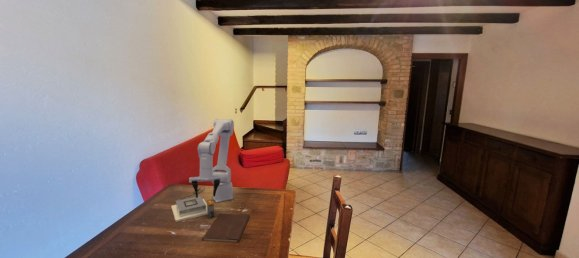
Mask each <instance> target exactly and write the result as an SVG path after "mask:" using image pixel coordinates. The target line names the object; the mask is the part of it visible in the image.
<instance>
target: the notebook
mask: <svg viewBox="0 0 579 258" xmlns="http://www.w3.org/2000/svg"><path fill="white" fill-rule="evenodd" d="M250 217H251V216H250V214H247V213H241V214H239V213H238V214H237V213H218V215H217V216H216V218H215V219H214V220H213V222H212V224H210V226H209V228H208V229H207V231H206V232H205V234H204V235H203V237H202V238H201V241H208V242H210V241H211V242H212V241H213V242H227V243H239V242H240V239H241V237H242V235H243V233H244V231H245V228H246V226H247V224H248V222H249V219H250Z"/></svg>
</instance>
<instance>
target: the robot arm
mask: <svg viewBox="0 0 579 258" xmlns="http://www.w3.org/2000/svg"><path fill="white" fill-rule="evenodd" d="M234 128H235V122H234V120H233V119H232V118H230V119H225V118H215V120H213V129H212V131H211V132H209V133H208V134H207V136H205V139H204V140H203V141H201V142H200V143H198V146H197V153H198V159H199V175H198V176H191V177H189V178H188V180H189V181H188V182H189V183H191V185H192V187H193V191H194V192H195V193H196V198H198V196H199V194H198V189H199V182H200V183H201V182H202V183H203V182H211V183H212V185H213V191H212V200H214V202H215V203H221V202H225V201H229V200H234V197H233V196H234V194H233V193H234V192H233V191H234V189H233V183H232V181H231V180H232V179H231V178H232V171H231V168H230V167H229V166H227V162H228V154H229V146H230V139H231V138H230V137H231V136H233V135H234V134H233V133H234ZM218 142H219V150H218V156H217V164H216V165H215V166H214V167H213V165H214V164H213V160H214V154H215V152H216V145H217V144H218Z"/></svg>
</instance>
